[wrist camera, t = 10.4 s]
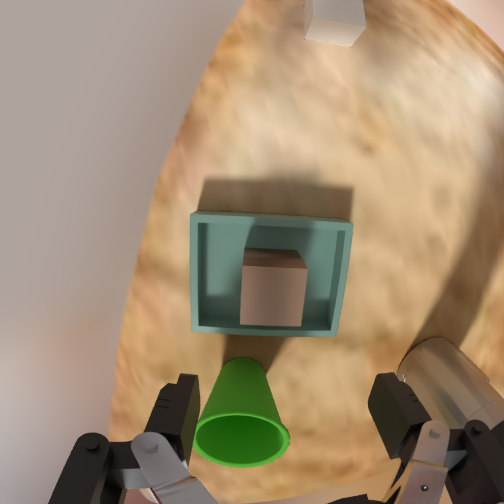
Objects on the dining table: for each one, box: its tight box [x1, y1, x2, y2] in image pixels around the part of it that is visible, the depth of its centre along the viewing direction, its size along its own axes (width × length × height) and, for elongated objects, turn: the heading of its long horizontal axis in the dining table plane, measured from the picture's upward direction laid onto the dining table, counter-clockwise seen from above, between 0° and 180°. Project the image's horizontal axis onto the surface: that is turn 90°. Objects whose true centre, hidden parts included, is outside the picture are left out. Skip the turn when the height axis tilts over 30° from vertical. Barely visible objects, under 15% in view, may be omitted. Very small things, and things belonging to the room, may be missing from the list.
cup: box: [193, 358, 290, 468], centre depth 27 cm, size 9×9×11 cm
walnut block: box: [240, 247, 308, 326], centre depth 25 cm, size 5×5×6 cm
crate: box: [190, 211, 353, 337], centre depth 27 cm, size 14×11×3 cm
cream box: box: [304, 0, 366, 47], centre depth 20 cm, size 5×5×5 cm
